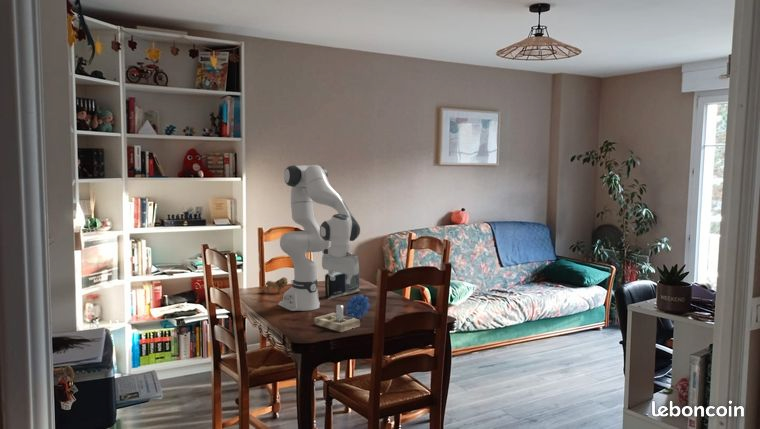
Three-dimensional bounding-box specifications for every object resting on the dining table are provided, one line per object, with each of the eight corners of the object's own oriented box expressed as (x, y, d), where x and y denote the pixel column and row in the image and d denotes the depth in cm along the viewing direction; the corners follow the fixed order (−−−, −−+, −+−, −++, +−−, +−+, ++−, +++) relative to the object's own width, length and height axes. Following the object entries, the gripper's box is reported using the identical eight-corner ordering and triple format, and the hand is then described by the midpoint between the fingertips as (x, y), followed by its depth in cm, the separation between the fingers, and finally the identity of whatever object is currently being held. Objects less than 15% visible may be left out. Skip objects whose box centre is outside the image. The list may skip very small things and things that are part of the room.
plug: (334, 327, 250) (334, 305, 249) (339, 325, 253) (339, 304, 252) (339, 329, 248) (339, 306, 247) (344, 327, 251) (344, 305, 250)
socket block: (314, 324, 255) (314, 317, 254) (333, 318, 264) (333, 312, 263) (341, 332, 244) (341, 324, 243) (360, 326, 253) (360, 319, 252)
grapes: (369, 316, 269) (369, 291, 268) (370, 320, 262) (370, 295, 261) (344, 316, 267) (344, 292, 266) (345, 320, 261) (345, 295, 259)
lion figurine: (288, 292, 315) (288, 276, 314) (286, 294, 310) (286, 278, 309) (263, 291, 316) (262, 275, 315) (260, 293, 311) (260, 277, 310)
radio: (327, 299, 300) (327, 272, 299) (319, 296, 307) (319, 269, 306) (362, 293, 314) (363, 267, 312) (354, 290, 321) (354, 265, 319)
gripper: (362, 253, 243) (362, 284, 244) (329, 247, 256) (329, 277, 257) (352, 255, 238) (352, 287, 239) (319, 249, 251) (319, 279, 253)
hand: (340, 282), depth 248 cm, fingers open, 8 cm apart
